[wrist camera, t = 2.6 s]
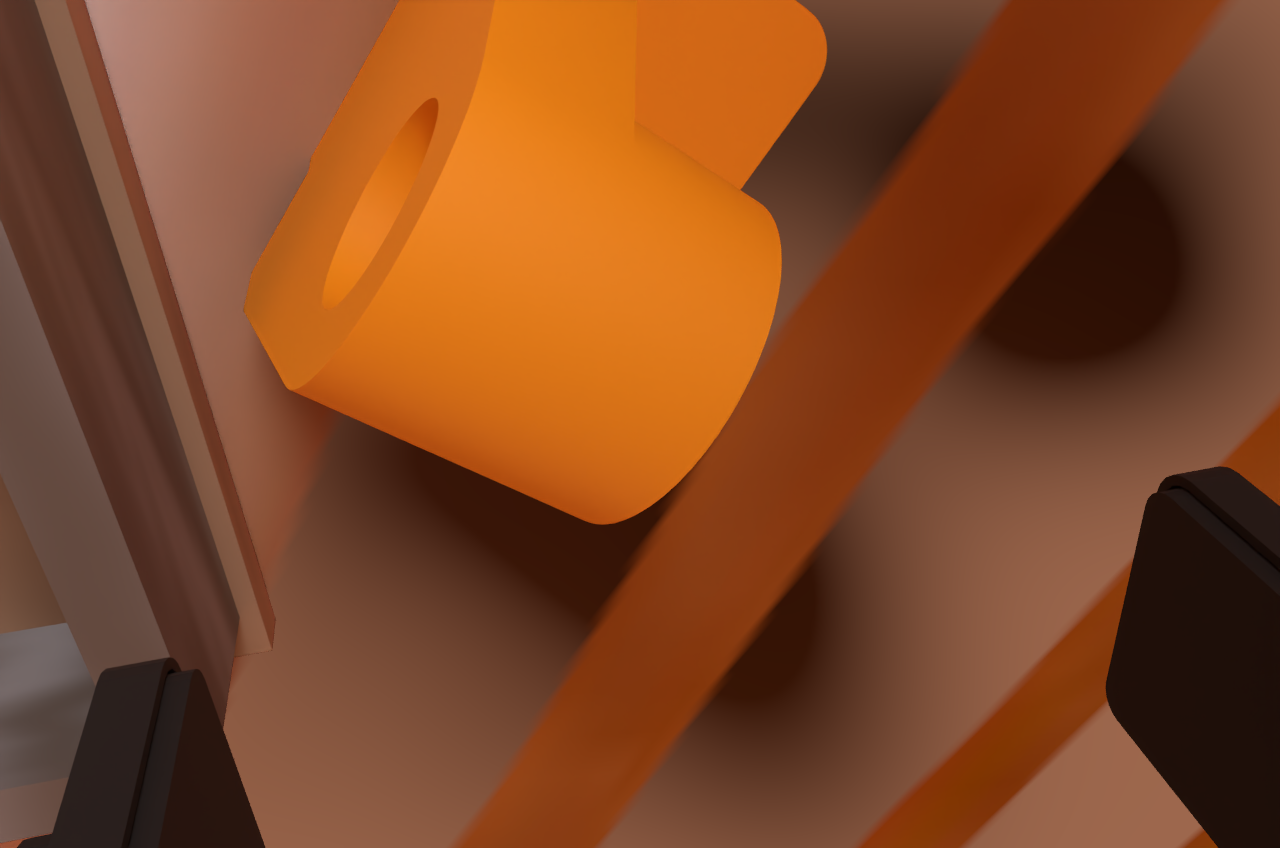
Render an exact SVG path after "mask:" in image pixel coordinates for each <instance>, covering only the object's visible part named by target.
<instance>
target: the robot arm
mask: <svg viewBox="0 0 1280 848" xmlns="http://www.w3.org/2000/svg"><path fill="white" fill-rule="evenodd" d="M1106 695H1107V699H1108V703H1109V706H1110V708H1111V711H1112V713H1113V715H1114V716H1115V718H1116V719H1117V721H1118V722H1119V723H1120V724H1121V726H1122V727H1123V728H1124V729H1125V731H1126V732H1127V733H1128V734H1129V736H1130V737H1131V738H1132V739H1133V741H1134V742H1135V743H1136V744H1137V746H1138V747H1139V748H1140V750H1141V751H1142V752H1143V753H1144V754H1145V756H1146V757H1147V758H1148V760H1149V761H1150V762H1151V763H1152V765H1153V766H1154V767H1155V768H1156V770H1157V771H1158V772H1159V773H1160V775H1161V776H1162V777H1163V779H1164V780H1165V781H1166V782H1167V784H1168V785H1169V786H1170V787H1171V788H1172V790H1173V791H1174V792H1175V794H1176V795H1177V796H1178V797H1179V798H1180V800H1181V801H1182V802H1183V804H1184V805H1185V806H1186V807H1187V808H1188V810H1189V811H1190V812H1191V814H1192V815H1193V816H1194V818H1195V819H1196V820H1197V821H1198V823H1199V824H1200V825H1201V826H1202V828H1203V829H1204V830H1205V831H1206V833H1207V834H1208V835H1209V836H1210V838H1211V839H1212V840H1213V841H1214V843H1215V844H1216V845H1217V846H1218V848H1280V506H1279V505H1277V504H1276V503H1275V502H1274V501H1272V500H1271V499H1270V498H1269V497H1267V496H1266V495H1265V494H1264V493H1262V492H1261V491H1260V490H1259V489H1257V488H1256V487H1255V486H1254V485H1252V484H1251V483H1250V482H1249V481H1247V480H1246V479H1245V478H1244V477H1242V476H1241V475H1240V474H1239V473H1237V472H1235V471H1234V470H1232V469H1230V468H1227V467H1214V468H1209V469H1203V470H1198V471H1192V472H1187V473H1182V474H1176V475H1172V476H1169V477H1166V478H1165V479H1164V480H1163V481H1162V483H1161V484H1160V486H1159V488H1158V491H1157V493H1154V494H1152V495H1151V496H1150V497H1149V498H1148V500H1147V503H1146V506H1145V510H1144V515H1143V519H1142V524H1141V528H1140V532H1139V537H1138V541H1137V546H1136V550H1135V555H1134V559H1133V564H1132V568H1131V573H1130V577H1129V582H1128V586H1127V591H1126V595H1125V600H1124V604H1123V609H1122V613H1121V618H1120V622H1119V627H1118V631H1117V636H1116V640H1115V645H1114V649H1113V654H1112V658H1111V662H1110V667H1109V671H1108V676H1107V680H1106ZM17 848H265V845H264V842H263V840H262V837H261V834H260V831H259V829H258V826H257V823H256V820H255V817H254V814H253V812H252V809H251V806H250V803H249V801H248V798H247V795H246V792H245V789H244V787H243V784H242V781H241V778H240V776H239V773H238V770H237V767H236V764H235V761H234V759H233V756H232V753H231V750H230V748H229V745H228V742H227V739H226V736H225V734H224V731H223V728H222V725H221V722H220V720H219V717H218V714H217V711H216V708H215V706H214V703H213V700H212V697H211V695H210V692H209V689H208V686H207V683H206V681H205V678H204V676H203V674H202V672H201V671H200V670H199V669H192V670H187V671H181V668H180V666H179V664H178V663H177V661H176V660H175V659H174V658H171V657H167V658H162V659H156V660H151V661H145V662H140V663H134V664H129V665H123V666H118V667H112V668H107V669H105V670H104V671H103V672H102V673H101V674H100V677H99V679H98V681H97V684H96V688H95V691H94V694H93V698H92V701H91V704H90V708H89V711H88V715H87V718H86V721H85V725H84V728H83V731H82V735H81V738H80V741H79V745H78V748H77V752H76V755H75V758H74V762H73V765H72V768H71V772H70V775H69V778H68V782H67V785H66V789H65V792H64V795H63V799H62V802H61V805H60V809H59V812H58V815H57V819H56V822H55V826H54V829H53V832H52V834H49V835H44V836H39V837H34V838H30V839H26V840H23V841H22V842H21V844H20V845H19V846H18V847H17Z"/></svg>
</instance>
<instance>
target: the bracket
mask: <svg viewBox="0 0 1280 848" xmlns="http://www.w3.org/2000/svg"><path fill="white" fill-rule="evenodd" d="M826 58H827V43H826V37H825V34H824V31H823V28H822V26H821V24H820V23H819V21H818V20H817V18H816V17H815V16H814V15H813V14H812V13H811V12H810V11H809V10H807V9H806V8H805V7H804V6H802V5H801V4H800V3H799V2H797V1H796V0H399V2H398V4H397V5H396V7H395V9H394V11H393V13H392V14H391V16H390V18H389V20H388V21H387V23H386V25H385V27H384V29H383V30H382V32H381V34H380V36H379V38H378V39H377V41H376V43H375V45H374V46H373V48H372V50H371V52H370V54H369V55H368V57H367V59H366V61H365V63H364V64H363V66H362V68H361V70H360V71H359V73H358V75H357V77H356V79H355V80H354V82H353V84H352V86H351V88H350V89H349V91H348V93H347V95H346V96H345V98H344V100H343V102H342V104H341V105H340V107H339V109H338V111H337V113H336V114H335V116H334V118H333V120H332V121H331V123H330V125H329V127H328V129H327V130H326V132H325V134H324V136H323V138H322V139H321V141H320V143H319V145H318V146H317V148H316V150H315V152H314V154H313V155H312V157H311V160H310V167H309V171H308V173H307V175H306V177H305V179H304V180H303V182H302V184H301V186H300V187H299V189H298V191H297V193H296V195H295V196H294V198H293V200H292V202H291V203H290V205H289V207H288V209H287V211H286V212H285V214H284V216H283V218H282V219H281V221H280V223H279V225H278V227H277V228H276V230H275V232H274V234H273V236H272V237H271V239H270V241H269V243H268V244H267V246H266V248H265V250H264V252H263V253H262V255H261V257H260V259H259V260H258V262H257V264H256V266H255V268H254V269H253V271H252V274H251V278H250V283H249V287H248V292H247V296H246V301H245V305H244V312H245V314H246V316H247V318H248V319H249V321H250V323H251V325H252V327H253V329H254V330H255V332H256V334H257V336H258V338H259V339H260V341H261V343H262V345H263V347H264V348H265V350H266V352H267V354H268V356H269V357H270V359H271V361H272V363H273V365H274V366H275V368H276V370H277V372H278V374H279V376H280V377H281V379H282V381H283V383H284V385H285V386H286V387H287V388H288V389H289V390H291V391H293V392H296V393H298V394H300V395H302V396H305V397H307V398H309V399H311V400H314V401H316V402H318V403H320V404H323V405H325V406H327V407H329V408H332V409H334V410H336V411H338V412H341V413H343V414H345V415H348V416H350V417H352V418H354V419H356V420H359V421H361V422H363V423H365V424H368V425H370V426H373V427H374V428H377V429H379V430H381V431H384V432H386V433H388V434H390V435H393V436H395V437H397V438H399V439H402V440H404V441H406V442H408V443H411V444H413V445H415V446H417V447H420V448H422V449H424V450H426V451H429V452H431V453H433V454H436V455H438V456H440V457H442V458H444V459H447V460H449V461H451V462H454V463H456V464H458V465H460V466H462V467H465V468H467V469H469V470H471V471H474V472H476V473H478V474H481V475H483V476H485V477H488V478H489V479H492V480H494V481H496V482H499V483H501V484H503V485H505V486H507V487H510V488H512V489H514V490H517V491H519V492H521V493H523V494H525V495H528V496H530V497H532V498H535V499H537V500H539V501H541V502H544V503H546V504H548V505H550V506H553V507H555V508H557V509H559V510H562V511H564V512H566V513H568V514H571V515H573V516H575V517H577V518H580V519H582V520H584V521H587V522H590V523H593V524H611V523H616V522H619V521H622V520H625V519H628V518H630V517H632V516H634V515H636V514H638V513H640V512H642V511H643V510H645V509H646V508H648V507H650V506H651V505H652V504H654V503H655V502H656V501H658V500H659V499H660V498H662V497H663V496H664V495H665V494H666V493H668V492H669V491H670V490H671V489H672V488H673V487H674V486H675V485H676V484H677V483H678V482H679V481H680V480H681V479H682V478H683V477H684V476H685V475H686V474H687V473H688V472H689V471H690V470H691V469H692V468H693V466H694V465H695V464H696V463H697V462H698V460H699V459H700V458H701V457H702V456H703V454H704V453H705V452H706V450H707V449H708V448H709V446H710V445H711V444H712V442H713V441H714V440H715V438H716V437H717V436H718V434H719V433H720V431H721V429H722V428H723V426H724V425H725V423H726V422H727V420H728V419H729V417H730V415H731V414H732V412H733V410H734V409H735V407H736V405H737V403H738V402H739V400H740V398H741V396H742V394H743V392H744V390H745V388H746V386H747V384H748V382H749V380H750V378H751V376H752V374H753V372H754V369H755V367H756V365H757V363H758V360H759V358H760V356H761V353H762V350H763V347H764V345H765V342H766V339H767V337H768V333H769V330H770V327H771V323H772V320H773V317H774V312H775V308H776V304H777V299H778V294H779V287H780V281H781V266H782V257H781V243H780V237H779V233H778V230H777V226H776V223H775V221H774V219H773V218H772V216H771V214H770V212H769V211H768V210H767V209H766V208H765V207H764V206H763V205H762V204H760V203H759V202H758V201H756V200H755V199H753V198H751V197H750V196H748V195H747V194H745V193H744V192H742V191H741V188H742V187H743V186H744V184H745V183H746V181H747V180H748V179H749V177H750V176H751V175H752V173H753V172H754V170H755V169H756V168H757V166H758V165H759V163H760V162H761V161H762V159H763V158H764V156H765V155H766V154H767V152H768V151H769V150H770V148H771V147H772V145H773V144H774V143H775V141H776V140H777V139H778V137H779V136H780V134H781V133H782V132H783V130H784V129H785V128H786V126H787V125H788V123H789V122H790V121H791V119H792V118H793V116H794V115H795V114H796V112H797V111H798V110H799V108H800V107H801V105H802V104H803V103H804V101H805V100H806V98H807V97H808V96H809V94H810V93H811V92H812V90H813V89H814V87H815V86H816V84H817V83H818V81H819V79H820V77H821V75H822V73H823V70H824V67H825V63H826Z"/></svg>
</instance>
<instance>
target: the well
mask: <svg viewBox="0 0 1280 848" xmlns="http://www.w3.org/2000/svg"><path fill="white" fill-rule="evenodd" d="M274 628H275V616H274V613H273V609H272V606H271V603H270V600H269V596H268V593H267V590H266V587H265V583H264V580H263V577H262V574H261V570H260V567H259V564H258V561H257V557H256V554H255V551H254V548H253V545H252V541H251V538H250V535H249V532H248V528H247V525H246V522H245V519H244V515H243V512H242V509H241V506H240V503H239V499H238V496H237V493H236V490H235V486H234V483H233V480H232V477H231V473H230V470H229V467H228V464H227V460H226V457H225V454H224V451H223V448H222V444H221V441H220V438H219V435H218V431H217V428H216V425H215V422H214V418H213V415H212V412H211V409H210V406H209V402H208V399H207V396H206V393H205V389H204V386H203V383H202V380H201V376H200V373H199V370H198V367H197V363H196V360H195V357H194V354H193V351H192V347H191V344H190V341H189V338H188V334H187V331H186V328H185V325H184V321H183V318H182V315H181V312H180V308H179V305H178V302H177V299H176V296H175V292H174V289H173V286H172V283H171V279H170V276H169V273H168V270H167V266H166V263H165V260H164V257H163V254H162V250H161V247H160V244H159V241H158V237H157V234H156V231H155V228H154V224H153V221H152V218H151V215H150V211H149V208H148V205H147V202H146V199H145V195H144V192H143V189H142V186H141V182H140V179H139V176H138V173H137V169H136V166H135V163H134V160H133V157H132V153H131V150H130V147H129V144H128V140H127V137H126V134H125V131H124V127H123V124H122V121H121V118H120V114H119V111H118V108H117V105H116V102H115V98H114V95H113V92H112V89H111V85H110V82H109V79H108V76H107V72H106V69H105V66H104V63H103V59H102V56H101V53H100V50H99V47H98V43H97V40H96V37H95V34H94V30H93V27H92V24H91V21H90V17H89V14H88V11H87V8H86V5H85V1H84V0H0V843H3V842H9V841H14V840H19V839H24V838H29V837H34V836H39V835H44V834H49V833H52V832H53V829H54V826H55V822H56V819H57V815H58V812H59V809H60V805H61V802H62V799H63V795H64V792H65V789H66V785H67V782H68V778H69V775H70V772H71V768H72V765H73V762H74V758H75V755H76V752H77V748H78V745H79V741H80V738H81V735H82V731H83V728H84V725H85V721H86V718H87V715H88V711H89V708H90V704H91V701H92V698H93V694H94V691H95V688H96V684H97V681H98V679H99V677H100V674H101V673H102V672H103V671H104V670H105V669H107V668H112V667H118V666H123V665H129V664H134V663H140V662H145V661H151V660H156V659H162V658H167V657H171V658H174V659H175V660H176V661H177V663H178V664H179V666H180V668H181V671H187V670H192V669H199V670H200V671H201V672H202V674H203V676H204V678H205V681H206V683H207V686H208V689H209V692H210V695H211V697H212V700H213V703H214V706H215V708H216V711H217V714H218V717H219V720H220V722H221V725H222V728H223V726H224V719H225V713H226V706H227V699H228V693H229V686H230V679H231V673H232V666H233V659H234V657H239V656H245V655H250V654H255V653H262V652H267V651H272V648H273V639H274Z"/></svg>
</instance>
